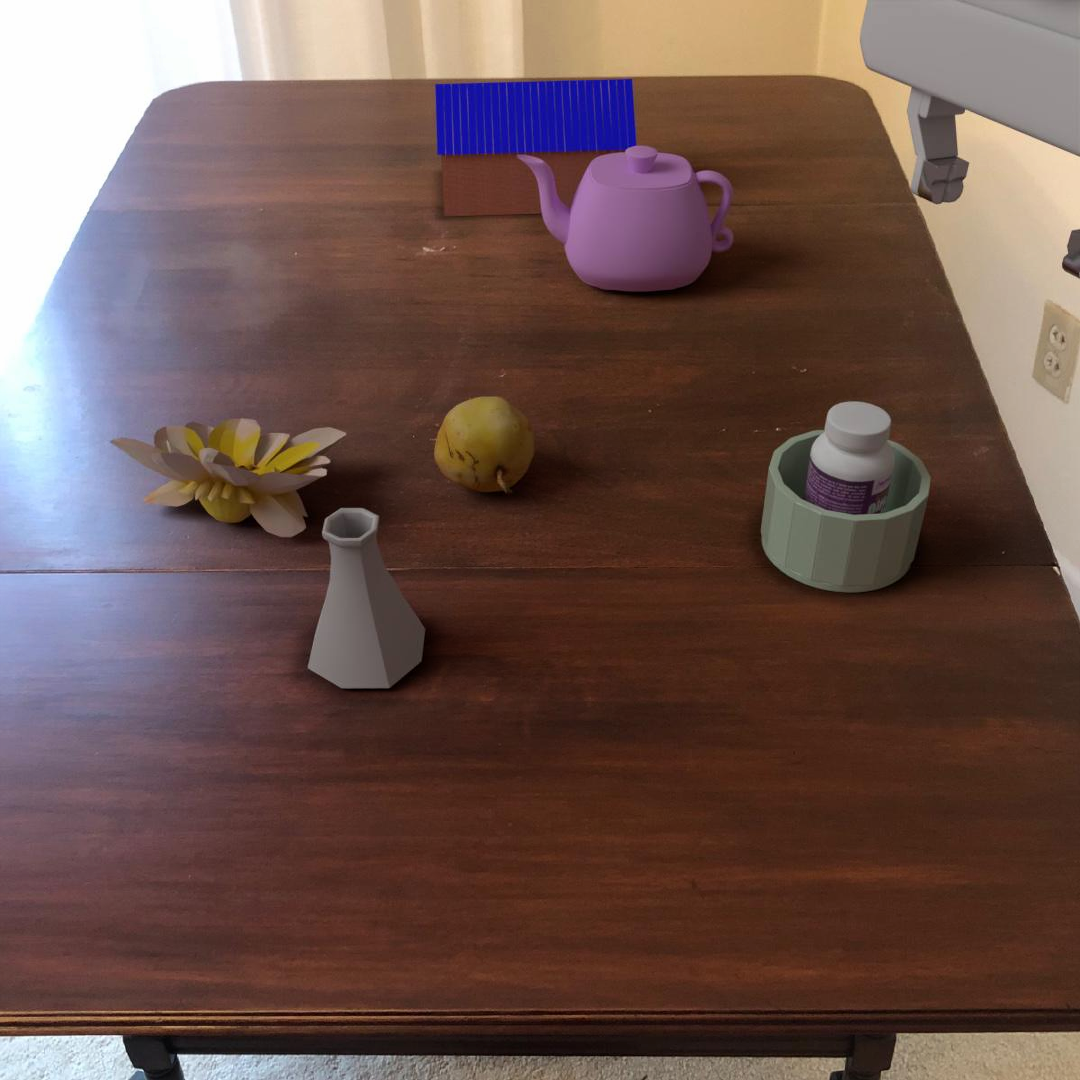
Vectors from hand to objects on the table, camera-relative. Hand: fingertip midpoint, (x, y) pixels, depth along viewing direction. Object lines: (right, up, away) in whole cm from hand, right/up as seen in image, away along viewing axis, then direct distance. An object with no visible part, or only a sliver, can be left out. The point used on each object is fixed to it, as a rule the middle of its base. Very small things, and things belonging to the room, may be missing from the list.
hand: (1006, 235), depth 52 cm
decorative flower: (-40, -11, +36) cm, 55 cm away
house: (-20, +24, +79) cm, 85 cm away
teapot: (-12, +12, +64) cm, 66 cm away
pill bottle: (0, -13, +31) cm, 34 cm away
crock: (0, -13, +31) cm, 34 cm away
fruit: (-24, -9, +38) cm, 45 cm away
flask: (-30, -20, +24) cm, 43 cm away
